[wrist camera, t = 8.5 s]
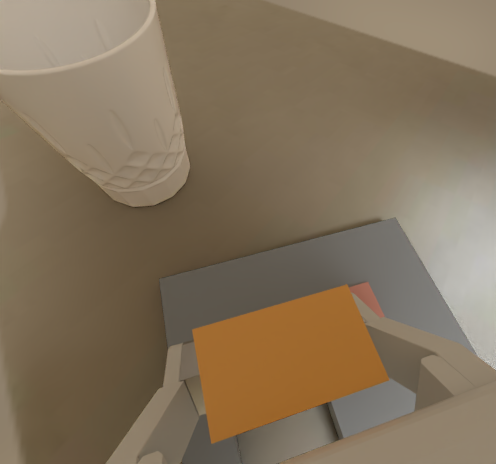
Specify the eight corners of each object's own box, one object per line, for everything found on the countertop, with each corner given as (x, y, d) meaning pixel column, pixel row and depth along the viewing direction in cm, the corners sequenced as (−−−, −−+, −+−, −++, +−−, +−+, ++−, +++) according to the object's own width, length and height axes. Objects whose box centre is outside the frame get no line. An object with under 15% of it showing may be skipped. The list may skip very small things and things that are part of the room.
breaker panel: (637, 663, 9) (690, 707, 8) (248, 905, 7) (249, 1006, 6) (387, 223, 17) (397, 216, 16) (164, 282, 15) (157, 278, 14)
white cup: (91, 145, 19) (-43, -24, 10) (186, 125, 21) (140, -44, 11) (99, 227, 16) (-81, 92, 7) (208, 198, 18) (172, 50, 8)
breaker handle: (306, 355, 13) (389, 380, 6) (229, 379, 13) (211, 443, 5) (291, 311, 14) (347, 284, 7) (220, 332, 14) (191, 329, 6)
